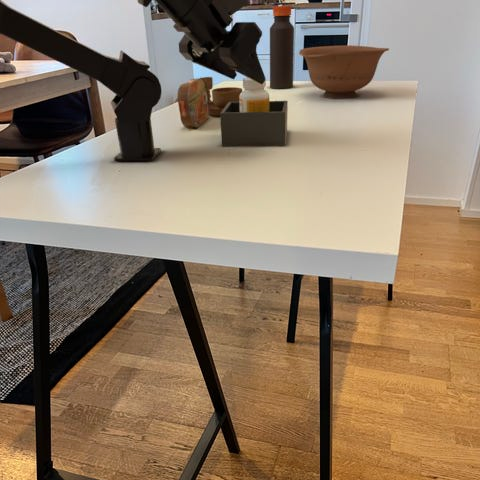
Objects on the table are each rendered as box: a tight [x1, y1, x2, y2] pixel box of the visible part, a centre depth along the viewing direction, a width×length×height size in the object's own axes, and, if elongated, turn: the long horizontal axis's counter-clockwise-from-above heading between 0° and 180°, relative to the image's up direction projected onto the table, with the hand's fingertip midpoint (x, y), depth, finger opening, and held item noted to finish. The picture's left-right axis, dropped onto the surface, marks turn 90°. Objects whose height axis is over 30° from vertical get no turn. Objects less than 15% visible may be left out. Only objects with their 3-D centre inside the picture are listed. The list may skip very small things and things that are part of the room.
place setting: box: [202, 76, 243, 117], centre depth 113 cm, size 18×20×6 cm
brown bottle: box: [269, 5, 295, 90], centre depth 135 cm, size 7×7×20 cm
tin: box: [176, 77, 210, 129], centre depth 100 cm, size 15×3×8 cm, turn 169°
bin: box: [219, 100, 289, 147], centre depth 88 cm, size 11×11×6 cm
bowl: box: [298, 44, 390, 99], centre depth 122 cm, size 22×22×11 cm
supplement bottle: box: [239, 77, 270, 112], centre depth 86 cm, size 5×5×10 cm
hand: (248, 79), depth 83 cm, fingers open, 9 cm apart
